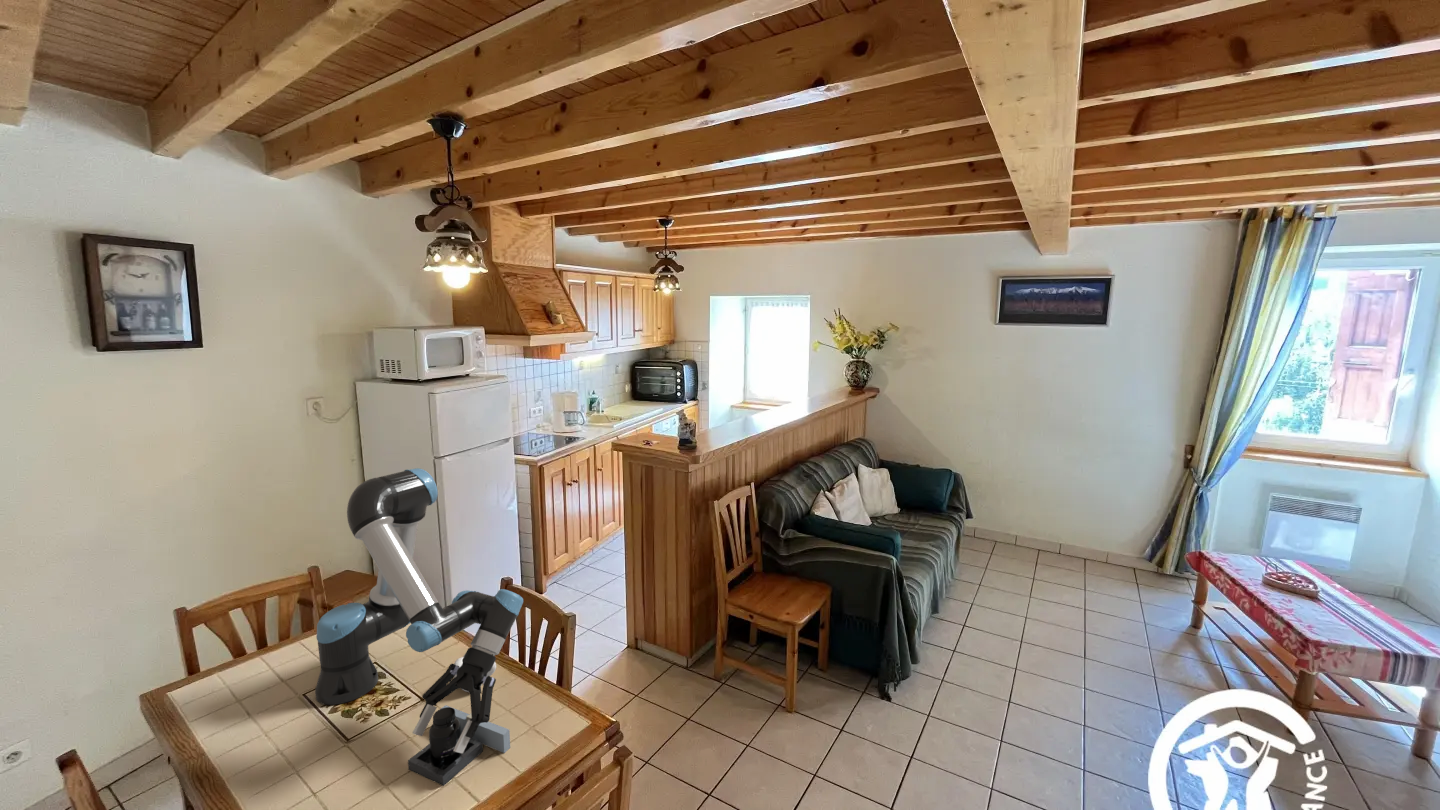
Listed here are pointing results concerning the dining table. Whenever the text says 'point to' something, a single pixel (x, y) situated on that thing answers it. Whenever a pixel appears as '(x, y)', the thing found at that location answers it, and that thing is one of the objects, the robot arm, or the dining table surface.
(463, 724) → the door edge plank
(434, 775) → the keeper frame
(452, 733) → the supplement bottle
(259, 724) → the dining table surface
